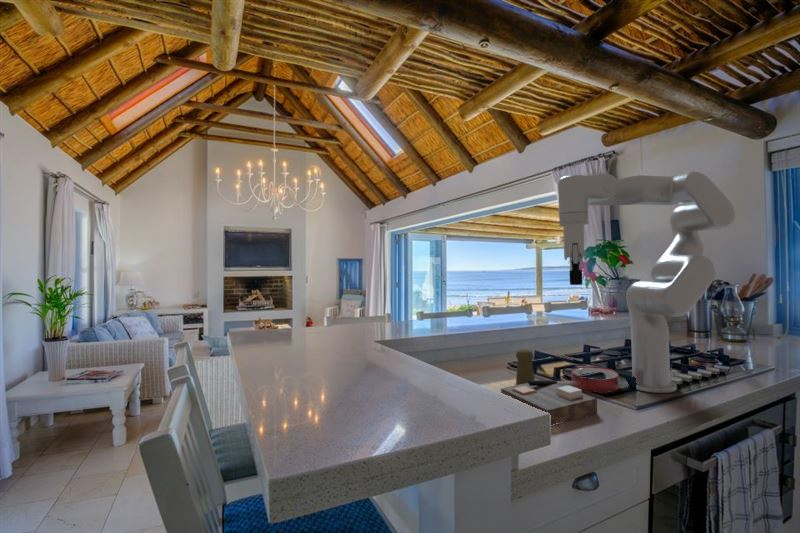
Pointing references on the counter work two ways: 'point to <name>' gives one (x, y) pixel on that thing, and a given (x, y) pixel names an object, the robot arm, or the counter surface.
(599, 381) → the frying pan
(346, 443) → the counter surface
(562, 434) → the counter surface
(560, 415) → the brown wooden flat board
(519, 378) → the olive brown rounded cylinder
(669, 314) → the robot arm
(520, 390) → the terracotta key
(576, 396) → the cream key
